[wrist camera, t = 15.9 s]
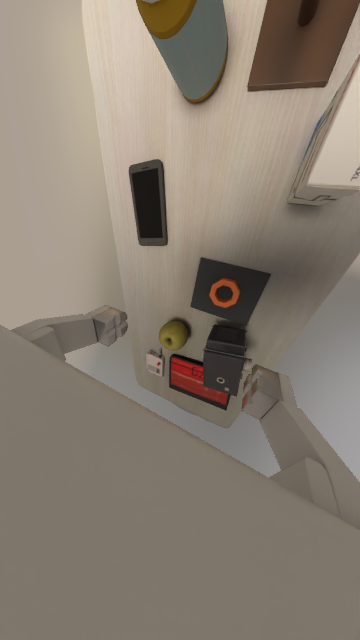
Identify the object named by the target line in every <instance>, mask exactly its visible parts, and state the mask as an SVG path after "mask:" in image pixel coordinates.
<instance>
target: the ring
mask: <svg viewBox="0 0 360 640" xmlns="http://www.w3.org/2000/svg"><path fill="white" fill-rule="evenodd" d="M222 285H224V286H228V287H230V288H231V289H232V291H233V293H234V294H233V296H232V298H229V299H227V300H224V299H221V298H219V296H218V295H217V293H216V292H217V289H218V288H219V287H221V286H222ZM239 294H240V289H239V287H238V285H237V283H236V281H235V280H231V279H228V278H222V279H220V280H218V281H217V282H215V283H214V284H213V285H212V288H211V291H210V297H211V299H212V301H213V302H214V304H215V305H218V306H221V307H224V308H226V307H229V306H231V305H233V304H235V303H236V301H237V299H238V296H239Z"/></svg>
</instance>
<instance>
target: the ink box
mask: <svg viewBox="0 0 360 640" xmlns="http://www.w3.org/2000/svg"><path fill="white" fill-rule="evenodd" d="M359 191H360V55H359V56H358V58H357V60H356V61H355V63H354V65H353V66H352V68H351V69H350V71H349V73H348V74H347V76H346V78H345V79H344V81H343V83H342V84H341V86H340V88H339V89H338V91H337V93H336V94H335V96H334V98H333V99H332V101H331V103H330V104H329V106H328V107H327V109H326V111H325V112H324V114H323V115H322V117H321V119H320V120H319V122H318V124H317V126H316V129H315V131H314V134H313V136H312V139H311V141H310V144H309V146H308V149H307V151H306V154H305V156H304V159H303V162H302V164H301V167H300V169H299V172H298V175H297V177H296V179H295V182H294V185H293V187H292V190H291V192H290V195H289V198H288V201H287V202H288V203H296V204H306V205H318V206H321V205H323V204H326V203H329V202H332V201H334V200H336V199H340V198H342V197H345V196H348V195H350V194H353V193H356V192H359Z"/></svg>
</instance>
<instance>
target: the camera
mask: <svg viewBox="0 0 360 640" xmlns="http://www.w3.org/2000/svg"><path fill="white" fill-rule="evenodd" d="M246 332H247V331H246V330H245V329H240V328H233V327H227V326H220V325H214V326H213V328H212V331H211V333H210V335H209V337H208V339H207V344H206V347H205V349H203V352H202V359H203V386H204V387H207V388H210V389H214V390H217V391H220V392H224V393H227V394H230V395H234V396H236V397H237V393H238V387H239V382H240V379H242V374H241V372H242V370H243V371H247V372H250V371H251V366H252V359H248V358H244V357H245V351H246V348H245V342H246V337H245V333H246Z"/></svg>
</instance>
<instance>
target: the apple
mask: <svg viewBox="0 0 360 640" xmlns="http://www.w3.org/2000/svg"><path fill="white" fill-rule="evenodd" d="M187 339H188V331H187V329H186V327H185V325H184V324H183V323H181V322H179V321H171V322H168V323H166V324H165V325H163V327H162V328H161V330H160V332H159V340H160V342H161V344H162V345H163V346H164V347H165V348H166V349H168V350H178V349H180V348H182V347H183V346H184V345H185V343H186V341H187Z"/></svg>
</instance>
